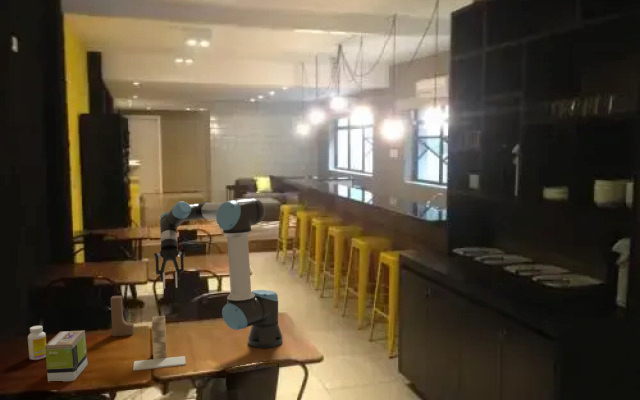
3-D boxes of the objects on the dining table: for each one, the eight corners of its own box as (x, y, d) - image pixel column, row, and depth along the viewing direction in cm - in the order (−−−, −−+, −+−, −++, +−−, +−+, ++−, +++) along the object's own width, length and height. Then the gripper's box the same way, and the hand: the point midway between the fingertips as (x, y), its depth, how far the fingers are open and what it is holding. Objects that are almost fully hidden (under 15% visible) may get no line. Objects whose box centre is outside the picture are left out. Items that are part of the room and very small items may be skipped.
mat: (185, 357, 227) (185, 355, 227) (185, 364, 219) (185, 363, 219) (134, 362, 222) (134, 361, 222) (133, 370, 214) (132, 369, 214)
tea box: (62, 366, 219) (60, 330, 217) (88, 365, 219) (86, 329, 218) (46, 382, 204) (44, 344, 202) (74, 381, 205) (72, 343, 203)
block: (166, 352, 233) (165, 315, 231) (166, 359, 225) (164, 321, 223) (154, 353, 231) (152, 316, 230) (153, 360, 224) (152, 322, 222)
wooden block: (134, 332, 258) (132, 294, 256) (132, 335, 253) (131, 297, 251) (113, 333, 256) (112, 295, 254) (112, 336, 251) (110, 298, 249)
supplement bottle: (50, 355, 230) (48, 325, 228) (38, 361, 224) (36, 330, 222) (38, 353, 232) (36, 324, 231) (25, 359, 226) (23, 329, 224)
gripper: (188, 246, 257) (191, 289, 243) (149, 248, 253) (149, 292, 239) (188, 236, 252) (191, 280, 238) (148, 238, 247) (148, 283, 233)
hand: (170, 286), depth 238 cm, fingers open, 4 cm apart
